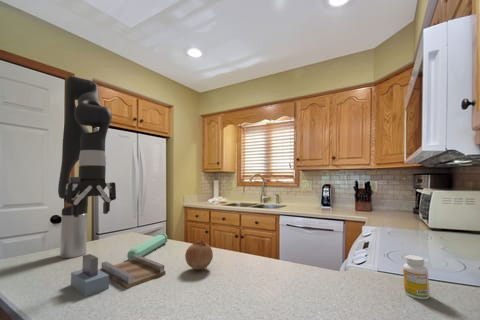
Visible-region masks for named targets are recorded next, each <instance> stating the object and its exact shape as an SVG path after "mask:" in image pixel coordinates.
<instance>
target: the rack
mask: <svg viewBox="0 0 480 320" xmlns="http://www.w3.org/2000/svg"><path fill="white" fill-rule="evenodd" d="M99 270H100V271H102V272H104V273H106V274H108V275H109V279H111V280H113V281H114V282H116V283H118V284H119V285H121V286H123V287H124V288H126V289H129V288H131V287H134V286H136V285H139V284H142V283H145V282H147V281H151V280H153V279H155V278H160V277H162V276H165V275H167V274H166V270H165V265H164V264H162V263H159V262H157V261H154V260H151V259H149V258H147V257H144V256H143V257H142V256H139V255H137V254H133V255H131V260H127V261H124V262H121V263H117V264H112V263H111V262H108V261H103V262H101V268H100V269H99Z"/></svg>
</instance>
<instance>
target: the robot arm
mask: <svg viewBox="0 0 480 320" xmlns="http://www.w3.org/2000/svg"><path fill="white" fill-rule="evenodd" d="M76 101H77V105H76ZM112 118H113V114H112V111H111V110H110V108H108V107H107V106H102V104H101V102H100V95H99V87H98V84H97V83H96V82H95V81H93V80H91V79H85V78H81V77H77V76H73V75H72V76H71V75H70V76H68V77H67V79H66V82H65V115H64V126H63V133H62V134H63V136H62V153H61V154H62V157H61V166H60V167H61V168H60V172H59V177H58V187H57V191H58V197H59V198H60V199H64V200H63V202H64V203H65V204H69V205H68V206H65V207H63V208H62V209H61V221H60V222H61V227H60V248H59V249H60V250H59V251H60V252H59V253H60V254H59V255H60V256H59V257H60V258H61V259H68V258H69V259H70V258H76V257H80V256H83V255H86V254H87V243H88V241H87V239H88V238H87V237H88V211H89V210H88V207H89V197H100V198H101V199H102V201H103V203H102V214H104V215H108V213H109V212H110V210H111V209H110V208H111V202H112V201H115V200H116V199H117V190H116V182H113V181H111V182H106V171H107V170H106V169H107V168H106V165H107V161H106V160H107V159H106V158H107V157H106V140H107V139H106V138H107V134H108V129H109V128H110V125H111V122H112ZM88 127H95V128H98V130H97V131H91V132H90V131H89V129H88ZM77 162H78V176H71V173H72V171H73V169H74V167H75V166H76V164H77ZM106 188H107V189H108V194H107V193H106V191H105V189H106ZM108 195H109V196H108Z"/></svg>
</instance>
